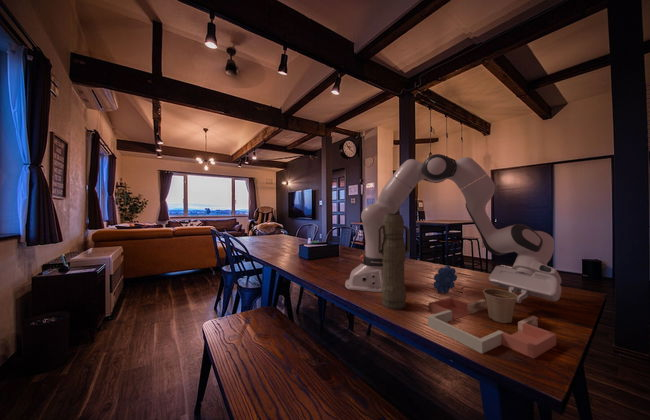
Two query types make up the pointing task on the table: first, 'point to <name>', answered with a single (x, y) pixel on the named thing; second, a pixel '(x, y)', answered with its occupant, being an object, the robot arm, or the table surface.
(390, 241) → the thermos
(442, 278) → the grapes
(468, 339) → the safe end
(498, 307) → the flower pot
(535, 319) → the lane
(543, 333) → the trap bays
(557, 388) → the table surface
